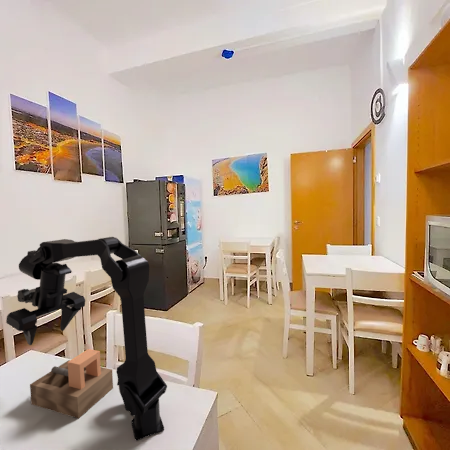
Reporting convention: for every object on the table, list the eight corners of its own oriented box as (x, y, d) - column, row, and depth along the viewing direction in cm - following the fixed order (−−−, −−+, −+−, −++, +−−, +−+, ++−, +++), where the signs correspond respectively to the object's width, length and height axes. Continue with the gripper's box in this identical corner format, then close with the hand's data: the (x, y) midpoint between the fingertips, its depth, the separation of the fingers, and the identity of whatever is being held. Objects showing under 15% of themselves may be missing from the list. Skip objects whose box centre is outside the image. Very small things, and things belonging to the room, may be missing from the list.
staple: (89, 371, 79) (88, 348, 79) (101, 373, 78) (99, 351, 78) (69, 386, 73) (67, 362, 73) (81, 389, 72) (79, 364, 71)
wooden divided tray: (113, 388, 81) (111, 364, 80) (78, 418, 69) (76, 391, 69) (69, 377, 86) (68, 355, 85) (31, 404, 75) (29, 378, 74)
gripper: (63, 268, 88) (58, 313, 91) (-5, 284, 71) (-9, 340, 74) (89, 280, 84) (83, 327, 87) (22, 300, 67) (17, 358, 70)
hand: (46, 336), depth 79 cm, fingers open, 9 cm apart
